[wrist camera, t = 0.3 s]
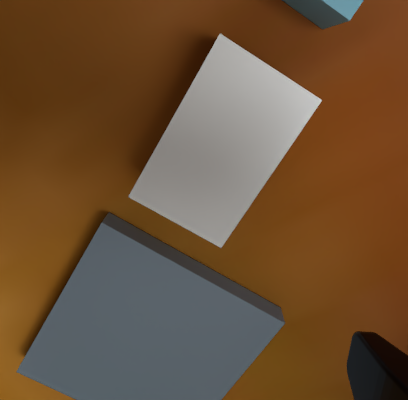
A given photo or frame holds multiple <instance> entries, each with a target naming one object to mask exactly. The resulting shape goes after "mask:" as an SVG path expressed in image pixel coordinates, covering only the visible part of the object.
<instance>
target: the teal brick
mask: <svg viewBox="0 0 408 400" xmlns="http://www.w3.org/2000/svg"><path fill="white" fill-rule="evenodd" d="M282 1H284V2H285V3H286V4H288V5H289V6H291V7H292V8H293V9H295V10H296V11H298V12H299V13H300V14H302V15H303V16H305V17H306V18H307V19H309V20H310V21H312V22H313V23H314V24H316V25H317V26H319V27H320V28H321V29H325V28H328V27H331V26H335V25H338V24H341V23H344V22H347V21H350V19H351V18H352V17H353V15H354V14H355V12H356V11H357V9H358V8H359V6H360V5H361V3H362V2H363V0H282Z"/></svg>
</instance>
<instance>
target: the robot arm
mask: <svg viewBox="0 0 408 400" xmlns="http://www.w3.org/2000/svg"><path fill="white" fill-rule="evenodd" d="M347 373H348V377H349V381H350V385H351V389H352V393H353V396H354V400H408V355H406V354H405V353H403V352H402V351H401V350H399V349H398V348H396V347H395V346H394V345H392V344H391V343H389V342H388V341H386V340H385V339H384V338H382V337H381V336H379V335H378V334H376V333H374V332H360V331H358V332H355V333H354V335H353V337H352V341H351V346H350V351H349V356H348V360H347Z"/></svg>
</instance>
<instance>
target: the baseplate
mask: <svg viewBox="0 0 408 400" xmlns="http://www.w3.org/2000/svg"><path fill="white" fill-rule="evenodd" d="M284 324H285V321H284V318H283V314H282V311H281V308H280V307H278V306H277V305H275V304H273V303H271V302H269V301H268V300H266V299H264V298H262V297H260V296H259V295H257V294H255V293H253V292H251V291H250V290H248V289H246V288H244V287H242V286H241V285H239V284H237V283H235V282H233V281H232V280H230V279H228V278H226V277H224V276H223V275H221V274H219V273H217V272H215V271H214V270H212V269H210V268H208V267H206V266H205V265H203V264H201V263H199V262H197V261H196V260H194V259H192V258H190V257H188V256H187V255H185V254H183V253H181V252H180V251H178V250H176V249H174V248H172V247H171V246H169V245H167V244H165V243H163V242H162V241H160V240H158V239H156V238H154V237H153V236H151V235H149V234H147V233H145V232H144V231H142V230H140V229H138V228H136V227H135V226H133V225H131V224H129V223H127V222H126V221H124V220H122V219H120V218H118V217H117V216H115V215H113V214H111V213H108V214H107V216H106V217H105V218H104V220H103V221H102V223H101V224H100V226H99V228H98V230H97V231H96V233H95V235H94V237H93V238H92V240H91V242H90V244H89V246H88V247H87V249H86V251H85V253H84V254H83V256H82V258H81V260H80V261H79V263H78V265H77V267H76V268H75V270H74V272H73V274H72V275H71V277H70V279H69V281H68V282H67V284H66V286H65V288H64V289H63V291H62V293H61V295H60V296H59V298H58V300H57V302H56V303H55V305H54V307H53V309H52V310H51V312H50V314H49V316H48V317H47V319H46V321H45V323H44V324H43V326H42V328H41V330H40V331H39V333H38V335H37V337H36V338H35V340H34V342H33V344H32V345H31V347H30V349H29V351H28V352H27V354H26V356H25V358H24V359H23V361H22V363H21V365H20V366H19V368H18V370H17V372H18V373H20V374H22V375H24V376H26V377H28V378H31V379H33V380H35V381H37V382H39V383H41V384H44V385H46V386H48V387H50V388H52V389H54V390H57V391H59V392H61V393H63V394H65V395H67V396H70V397H72V398H74V399H76V400H221V399H222V398H223V397H224V396H225V395H226V393H227V392H228V391H229V390H230V389H231V387H232V386H233V385H234V384H235V383H236V381H237V380H238V379H239V378H240V377H241V375H242V374H243V373H244V372H245V371H246V369H247V368H248V367H249V366H250V365H251V363H252V362H253V361H254V360H255V359H256V357H257V356H258V355H259V354H260V353H261V351H262V350H263V349H264V348H265V347H266V345H267V344H268V343H269V342H270V341H271V339H272V338H273V337H274V336H275V335H276V333H277V332H278V331H279V330H280V329H281V328H282V326H283V325H284Z"/></svg>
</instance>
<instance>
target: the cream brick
mask: <svg viewBox="0 0 408 400" xmlns="http://www.w3.org/2000/svg"><path fill="white" fill-rule="evenodd" d="M321 101H322V100H321V99H319V98H318V97H316V96H315V95H313V94H312V93H310V92H309V91H307V90H306V89H304V88H303V87H301V86H300V85H298V84H297V83H295V82H293V81H292V80H290V79H289V78H287V77H286V76H284V75H283V74H281V73H280V72H278V71H277V70H275V69H274V68H272V67H271V66H269V65H267V64H266V63H264V62H263V61H261V60H260V59H258V58H257V57H255V56H254V55H252V54H251V53H249V52H248V51H246V50H245V49H243V48H241V47H240V46H238V45H237V44H235V43H234V42H232V41H231V40H229V39H228V38H226V37H225V36H223V35H222V34H219V36H218V38H217V40H216V41H215V43H214V45H213V47H212V48H211V50H210V52H209V54H208V56H207V57H206V59H205V61H204V63H203V65H202V66H201V68H200V70H199V72H198V73H197V75H196V77H195V79H194V81H193V82H192V84H191V86H190V88H189V89H188V91H187V93H186V95H185V97H184V98H183V100H182V102H181V104H180V106H179V107H178V109H177V111H176V113H175V114H174V116H173V118H172V120H171V122H170V123H169V125H168V127H167V129H166V130H165V132H164V134H163V136H162V138H161V139H160V141H159V143H158V145H157V147H156V148H155V150H154V152H153V154H152V155H151V157H150V159H149V161H148V163H147V164H146V166H145V168H144V170H143V171H142V173H141V175H140V177H139V179H138V180H137V182H136V184H135V186H134V188H133V189H132V191H131V193H130V195H129V196H128V197H129V198H131V199H133V200H135V201H137V202H138V203H140V204H142V205H144V206H146V207H147V208H149V209H151V210H153V211H155V212H157V213H158V214H160V215H162V216H164V217H166V218H167V219H169V220H171V221H173V222H175V223H177V224H178V225H180V226H182V227H184V228H186V229H187V230H189V231H191V232H193V233H195V234H197V235H198V236H200V237H202V238H204V239H206V240H207V241H209V242H211V243H213V244H215V245H217V246H218V247H220V248H222V246H223V245H224V243H225V242H226V240H227V239H228V237H229V236H230V234H231V233H232V232H233V230H234V229H235V227H236V226H237V224H238V223H239V221H240V220H241V218H242V217H243V215H244V214H245V213H246V211H247V210H248V208H249V207H250V205H251V204H252V202H253V201H254V199H255V198H256V196H257V195H258V193H259V192H260V191H261V189H262V188H263V186H264V185H265V183H266V182H267V180H268V179H269V177H270V176H271V174H272V173H273V172H274V170H275V169H276V167H277V166H278V164H279V163H280V161H281V160H282V158H283V157H284V155H285V154H286V152H287V151H288V150H289V148H290V147H291V145H292V144H293V142H294V141H295V139H296V138H297V136H298V135H299V133H300V132H301V131H302V129H303V128H304V126H305V125H306V123H307V122H308V120H309V119H310V117H311V116H312V114H313V113H314V111H315V110H316V109H317V107H318V106H319V104H320V103H321Z"/></svg>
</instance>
